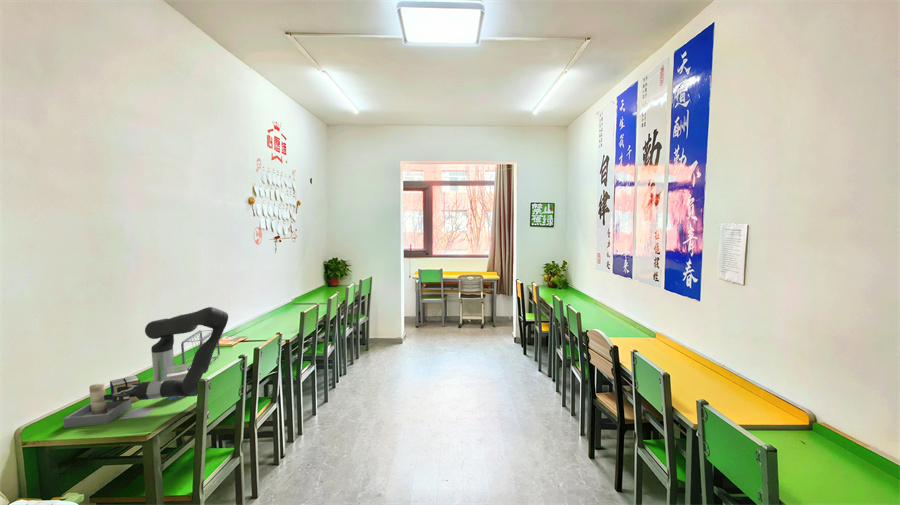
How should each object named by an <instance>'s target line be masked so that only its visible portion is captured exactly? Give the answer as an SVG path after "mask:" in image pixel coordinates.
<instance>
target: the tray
mask: <svg viewBox="0 0 900 505" xmlns="http://www.w3.org/2000/svg"><path fill="white" fill-rule="evenodd" d="M106 405H107V413H106V414H97V415H92V413H91V402H89V403H87V404H85V405H84V406H83V407H80V408H79V409H77V410H76V411H74V412H72V413H70V414H69V415H67V416H66V417H64V418H63V419H62V420H63V428H64V429H70V428H73V427H74V428H75V427H82V426H95V425H105V424H106V425H107V424H109V423H110V422H112V421H113V420H115V419H117V418H118V417H119V416H121V415H122V414H123V413H125V412H127V411H128V410H129V409H131V408H132V402H131V399H130V400H128V401H118V402H113V401H111V400H106Z"/></svg>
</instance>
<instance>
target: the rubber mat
mask: <svg viewBox="0 0 900 505" xmlns="http://www.w3.org/2000/svg"><path fill="white" fill-rule="evenodd" d="M157 408H158V407H157V406H153V407H142V408H133V409H131V410H129V411H128V412H126V413H125V414H123V415H122V416H121V417H120V418H118V419H117V420H125V419H126V420H127V419H139V418H145V417H147V416H148V415H149V414H150V413H152V412H153V411H154V410H156V409H157Z"/></svg>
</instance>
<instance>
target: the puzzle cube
mask: <svg viewBox="0 0 900 505" xmlns="http://www.w3.org/2000/svg"><path fill="white" fill-rule="evenodd" d="M136 383H141V382H140V378H138V375H131V376H127V377H126V376H125V377H124V378H123V377H121V378H117V379H113V380H109V385H110V387H109V388H110V394H116V393H120V392H117V388H118V387H123V386H128V385H131V384H136ZM135 386H136V385H135ZM123 394H125V393H123ZM120 395H121V394H120ZM117 398H119V397H117ZM129 399H131V403H135V402H139V401H140V400H139V399H138V398H137V397H136V396H135V397H133V398H129ZM110 401H113V400H110Z"/></svg>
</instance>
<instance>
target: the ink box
mask: <svg viewBox="0 0 900 505" xmlns="http://www.w3.org/2000/svg"><path fill="white" fill-rule="evenodd" d="M174 368H175V370H174ZM187 368H188V364H187V363H185V364H184V365H183V364H178V365H174V366H172V367H167V380H178V381H183V380H184V378H185V376H186V374H187V373H188V371H189V370H187ZM185 397H186V396H173V397H167V400H168V401H172V400H177V399H181V398H185Z"/></svg>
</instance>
